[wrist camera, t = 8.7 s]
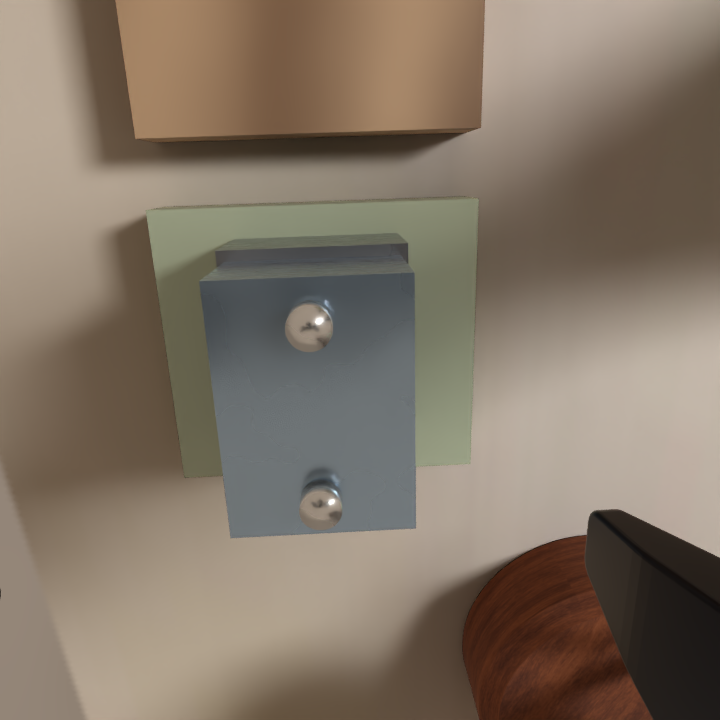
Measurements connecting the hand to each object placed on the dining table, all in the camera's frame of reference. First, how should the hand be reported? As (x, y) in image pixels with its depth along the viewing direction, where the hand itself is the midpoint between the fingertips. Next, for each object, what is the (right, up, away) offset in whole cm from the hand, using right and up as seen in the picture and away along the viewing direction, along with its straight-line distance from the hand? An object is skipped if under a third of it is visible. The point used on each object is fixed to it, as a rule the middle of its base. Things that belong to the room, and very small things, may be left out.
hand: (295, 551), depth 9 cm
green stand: (0, +4, +12) cm, 13 cm away
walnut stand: (-1, +13, +9) cm, 16 cm away
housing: (0, +3, +10) cm, 11 cm away
